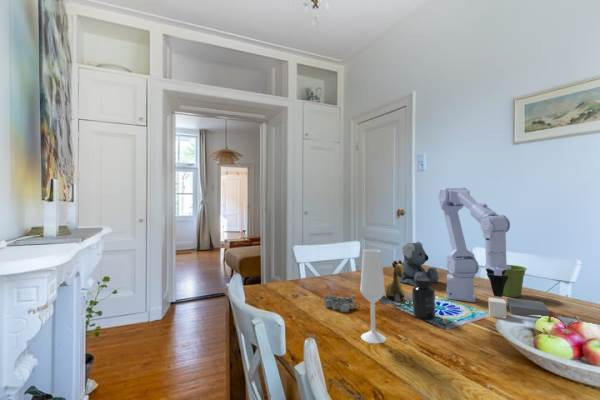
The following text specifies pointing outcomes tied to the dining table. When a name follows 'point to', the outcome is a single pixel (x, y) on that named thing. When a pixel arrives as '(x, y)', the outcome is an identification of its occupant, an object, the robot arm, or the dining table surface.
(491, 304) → the cream block
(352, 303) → the egg carton
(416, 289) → the supplement bottle
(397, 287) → the stuffed giraffe
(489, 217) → the robot arm
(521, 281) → the plant pot
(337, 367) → the dining table surface
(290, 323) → the dining table surface
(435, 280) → the koala plush
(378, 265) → the champagne flute
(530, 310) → the slate slab
